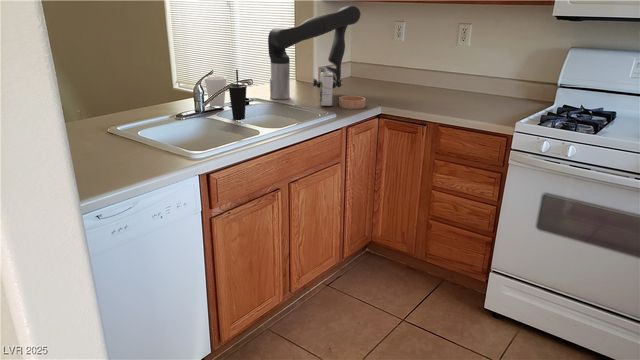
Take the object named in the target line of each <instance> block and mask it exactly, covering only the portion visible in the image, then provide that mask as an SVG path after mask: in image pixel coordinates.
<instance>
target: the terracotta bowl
mask: <svg viewBox="0 0 640 360" xmlns="http://www.w3.org/2000/svg"><path fill="white" fill-rule="evenodd" d="M338 106H339V107H340V108H342V109H350V110H351V109H353V110H354V109H355V110H356V109H363V108H366V97H363V96H358V95H343V96H339V97H338Z"/></svg>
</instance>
